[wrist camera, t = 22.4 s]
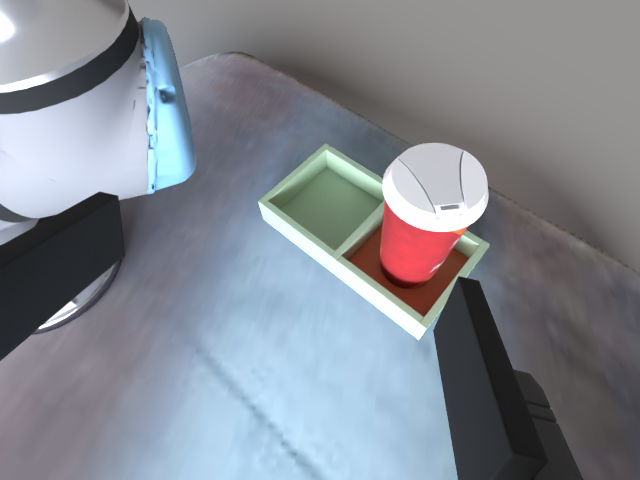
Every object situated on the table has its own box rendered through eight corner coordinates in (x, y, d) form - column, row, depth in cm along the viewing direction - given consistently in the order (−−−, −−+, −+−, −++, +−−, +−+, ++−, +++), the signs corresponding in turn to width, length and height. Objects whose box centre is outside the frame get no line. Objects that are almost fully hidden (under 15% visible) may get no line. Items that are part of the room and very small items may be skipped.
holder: (263, 219, 43) (257, 200, 40) (326, 163, 47) (325, 142, 44) (418, 340, 35) (426, 329, 32) (478, 261, 39) (491, 244, 36)
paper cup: (454, 294, 36) (512, 213, 24) (377, 304, 36) (397, 227, 24) (432, 228, 40) (473, 130, 28) (363, 236, 40) (374, 141, 28)
